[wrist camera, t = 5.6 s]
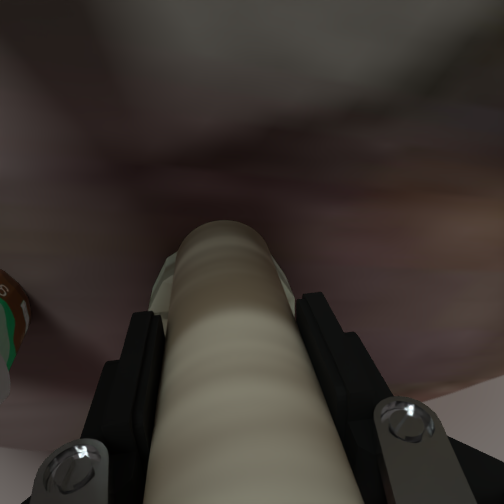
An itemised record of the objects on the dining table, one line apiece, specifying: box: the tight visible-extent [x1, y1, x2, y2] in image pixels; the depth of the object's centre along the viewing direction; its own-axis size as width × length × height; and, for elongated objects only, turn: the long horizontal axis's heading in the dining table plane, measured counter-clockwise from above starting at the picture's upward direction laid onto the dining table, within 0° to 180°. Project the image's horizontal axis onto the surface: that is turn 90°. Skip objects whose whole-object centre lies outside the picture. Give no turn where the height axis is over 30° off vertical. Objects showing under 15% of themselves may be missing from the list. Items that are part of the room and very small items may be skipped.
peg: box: [143, 220, 365, 504], centre depth 10 cm, size 4×4×14 cm
